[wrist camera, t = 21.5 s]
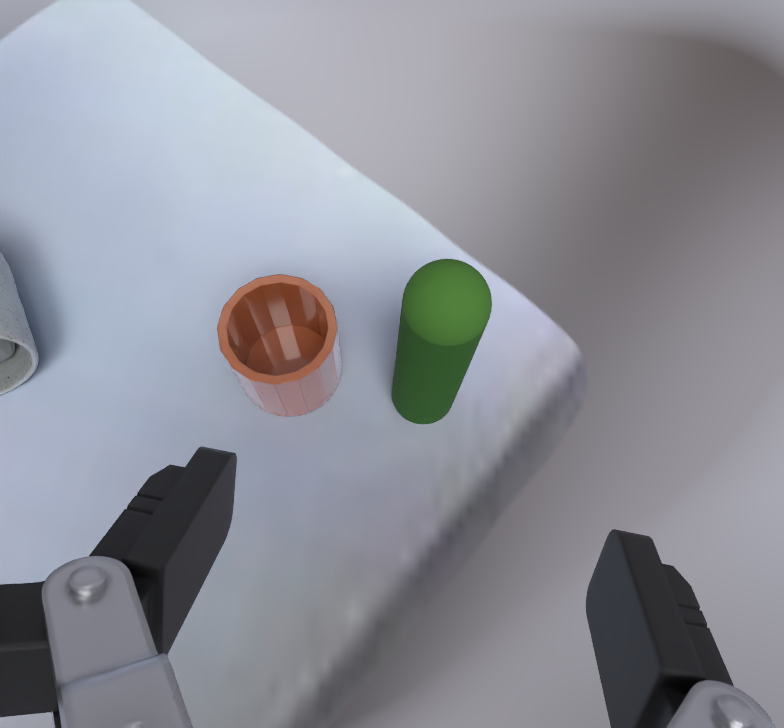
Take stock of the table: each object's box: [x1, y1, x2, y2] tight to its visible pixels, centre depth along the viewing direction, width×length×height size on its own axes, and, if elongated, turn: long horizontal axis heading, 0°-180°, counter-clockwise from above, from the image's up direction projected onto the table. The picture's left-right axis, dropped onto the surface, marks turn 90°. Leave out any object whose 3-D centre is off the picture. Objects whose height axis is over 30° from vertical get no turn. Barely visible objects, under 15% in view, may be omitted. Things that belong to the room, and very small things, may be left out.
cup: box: [217, 274, 342, 416], centre depth 38 cm, size 6×6×6 cm
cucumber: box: [392, 259, 492, 424], centre depth 34 cm, size 4×4×15 cm
